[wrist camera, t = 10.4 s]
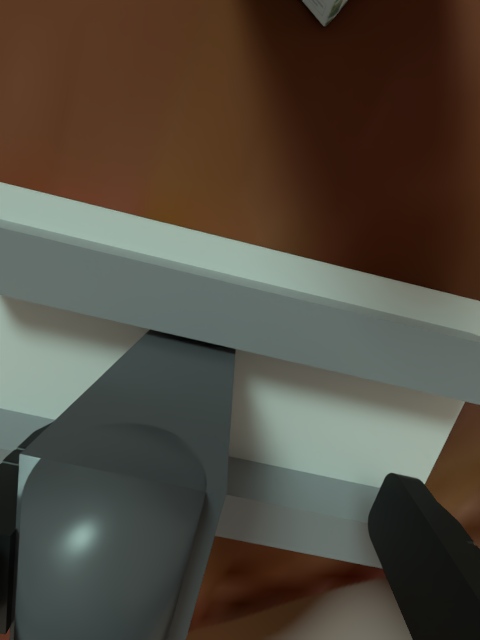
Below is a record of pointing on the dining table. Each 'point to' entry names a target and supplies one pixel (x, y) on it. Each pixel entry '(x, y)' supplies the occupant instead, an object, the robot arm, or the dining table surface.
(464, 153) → the dining table surface
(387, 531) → the robot arm
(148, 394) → the breaker lever
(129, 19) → the dining table surface
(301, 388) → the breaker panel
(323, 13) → the syrup box
